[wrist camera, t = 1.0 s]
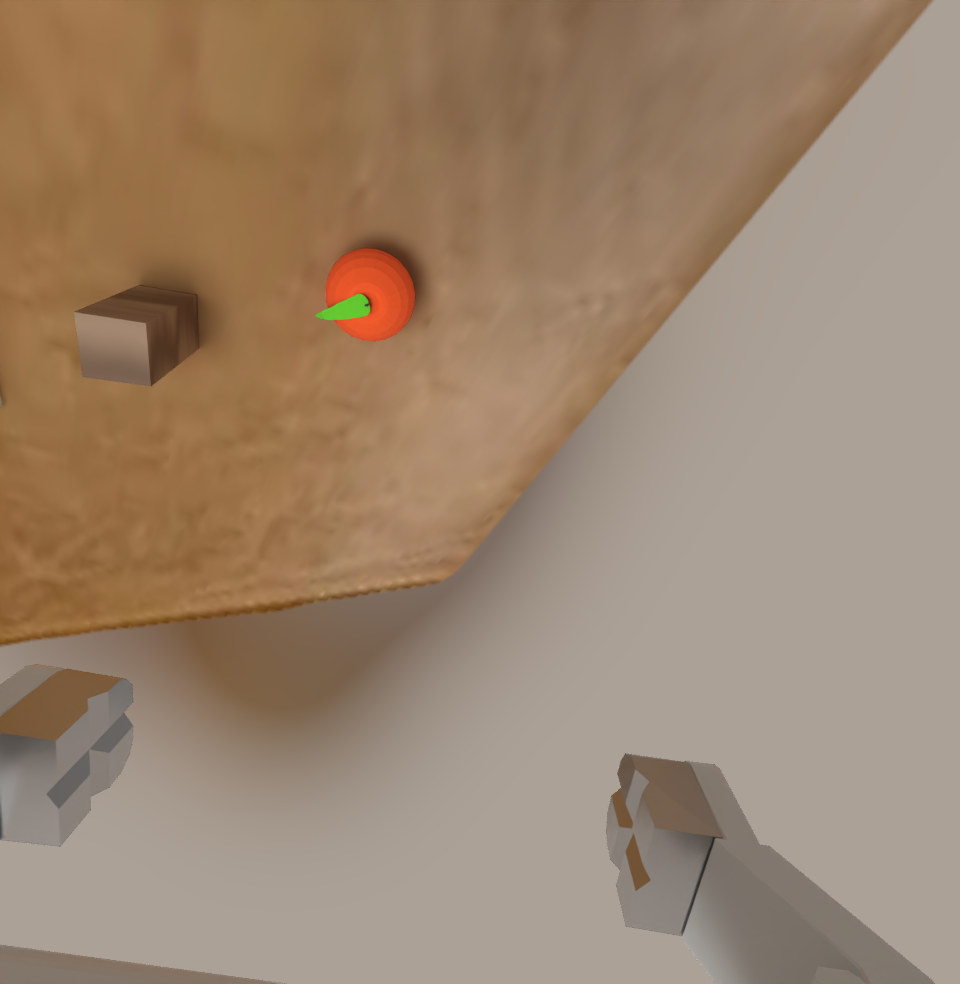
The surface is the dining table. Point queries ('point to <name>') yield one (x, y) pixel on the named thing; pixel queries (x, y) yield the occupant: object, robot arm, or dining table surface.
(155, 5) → the dining table surface
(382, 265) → the clementine
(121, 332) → the walnut post
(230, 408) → the dining table surface
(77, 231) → the dining table surface
